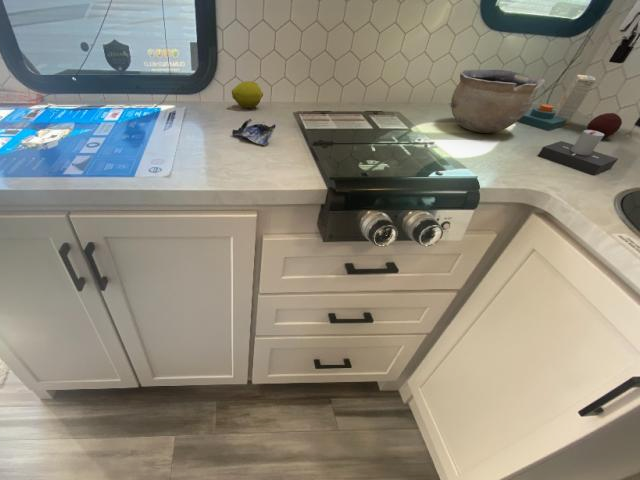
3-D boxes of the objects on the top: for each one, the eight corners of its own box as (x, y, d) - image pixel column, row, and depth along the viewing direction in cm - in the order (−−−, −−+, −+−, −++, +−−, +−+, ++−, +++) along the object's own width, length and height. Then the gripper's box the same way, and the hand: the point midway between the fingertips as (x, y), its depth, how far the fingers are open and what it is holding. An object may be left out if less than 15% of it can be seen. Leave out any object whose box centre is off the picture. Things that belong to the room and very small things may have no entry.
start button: (552, 112, 115) (555, 106, 114) (546, 113, 114) (550, 107, 112) (541, 109, 117) (544, 103, 116) (535, 110, 116) (539, 104, 115)
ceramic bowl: (481, 144, 101) (510, 86, 91) (425, 121, 115) (445, 68, 105) (529, 136, 108) (562, 80, 98) (471, 115, 122) (495, 64, 112)
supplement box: (568, 124, 117) (597, 80, 108) (551, 121, 119) (578, 78, 110) (567, 118, 123) (594, 75, 113) (551, 116, 124) (577, 73, 115)
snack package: (234, 147, 94) (276, 146, 95) (233, 121, 91) (277, 120, 91) (231, 139, 104) (269, 138, 105) (231, 115, 100) (270, 114, 101)
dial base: (611, 167, 92) (619, 158, 90) (593, 175, 88) (601, 165, 86) (555, 149, 100) (561, 140, 98) (537, 155, 96) (543, 146, 95)
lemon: (261, 105, 123) (263, 79, 117) (263, 111, 117) (265, 84, 112) (231, 104, 123) (231, 78, 117) (231, 110, 117) (231, 83, 111)
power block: (563, 126, 116) (571, 113, 113) (547, 130, 112) (556, 117, 110) (527, 116, 123) (534, 103, 121) (511, 119, 120) (518, 107, 117)
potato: (601, 133, 112) (618, 109, 107) (615, 142, 106) (634, 118, 101) (576, 130, 113) (592, 107, 108) (588, 139, 107) (606, 115, 102)
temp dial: (574, 148, 95) (589, 127, 91) (593, 153, 92) (608, 132, 88) (567, 150, 93) (581, 130, 89) (585, 156, 90) (601, 135, 86)
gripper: (661, -21, 96) (611, 58, 108) (640, -22, 90) (590, 62, 103) (697, -21, 91) (641, 62, 104) (677, -21, 85) (620, 66, 98)
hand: (615, 62), depth 103 cm, fingers closed
